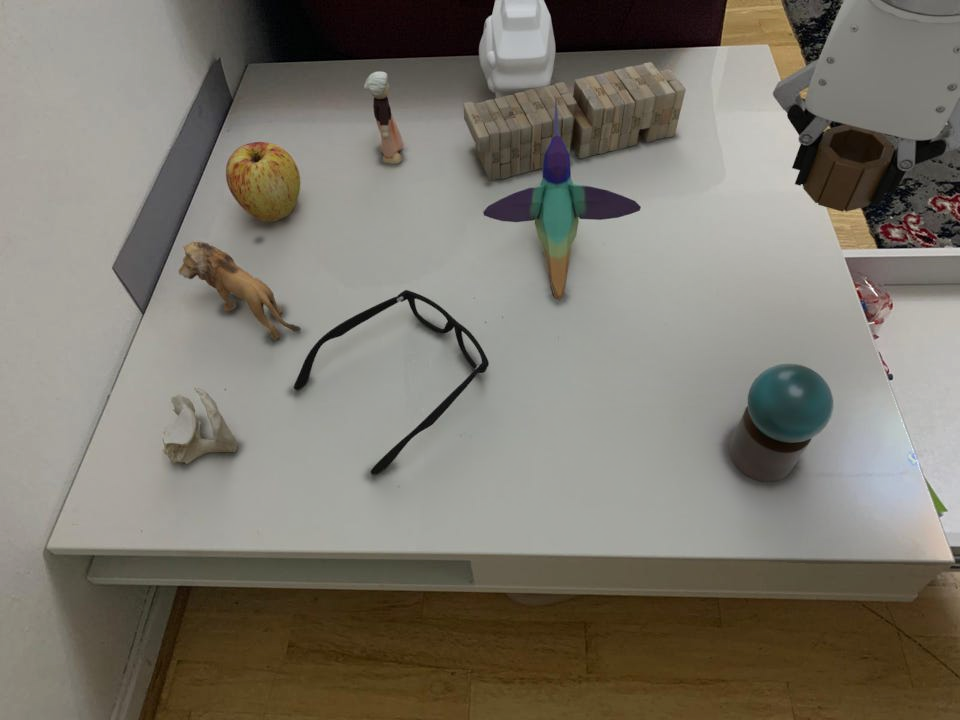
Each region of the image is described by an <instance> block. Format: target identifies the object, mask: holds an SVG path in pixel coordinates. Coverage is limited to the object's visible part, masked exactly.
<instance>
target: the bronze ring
mask: <svg viewBox="0 0 960 720" xmlns="http://www.w3.org/2000/svg"><path fill="white" fill-rule="evenodd" d="M823 132H824V133H823V135H822V138H821V140H820V142H819V145H818V149H817V152H816V154H815V157H814V159H813V162H812V165H811V167H810V170H809V172H808V175H807V177H806V180H805V183H804V185H802V189H803V190H804V191H805V193H806V194H807V195H808V196H809V198H810V199H811V200H812V201H813V203H815V204H817V205H818V206H821V207H824V208H828V209H832V210H835V211H839V212H842V213H843V212H846V213H847V212H851V211H854V210H858V209H862V208H866V207H868V206H870V205H871V203H870V202H871V200H872V198H873V196H874V194H875V192H876V190H877V188H878V186H879V184H880V182H881V180H882V178H883V176H884V173H885V171H886V169H887V167H888V166H889V164H890V162H891V159H892V156H893V153H894V150H896V147H895V145H894V144H893V143H892V142H891V141H890V140H889V139H888V138H887V137H886V136H885V134H884V133H880V132H875V131H871V130H867V129H863V128H859V127H855V126H851V125H847V124H842V125H837V126H834V127H830V128H826V129H825V130H824V131H823Z"/></svg>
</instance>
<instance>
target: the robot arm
mask: <svg viewBox="0 0 960 720" xmlns="http://www.w3.org/2000/svg"><path fill="white" fill-rule="evenodd" d="M806 89H807V91H806V94H805V98H803V97H802V95H801V93H800V92H802V91H804V90H806ZM772 96H773V98H774V99H775V100H776V102H777V103H778V104H779V106H780V107H781V108H782V110H783V111H785V112H786V117H787V119H788V121H789V122H790V124H791V125H792V127H793V128H794V130H795V131H796V133H797V134H798V142H799V144H800V145H799V147H798V150H797V152H796V155H795V159H794V161H793V164H792V166H791V168H792V169H794V170H796V171H798V174H797V177H796V180H795V182H794V185H796V186H799V187H800V186H803V185H804V183H805V180H806V177H807V175H808V172H809V170H810V167H811V165H812V162H813V159H814V157H815V154H816V152H817V149H818V145H819V142H820V140H821V138H822V135H823V133H824V131H826V130H827V129H828V127H829V126H830V125H831V124H832V123H833V122H835V123H839V124H842V125H846V124H847V125H851V126H855V127H859V128H863V129H867V130H871V131H875V132H880V133H882V134H883V135H888V136H893V137H895V138H896V137H897V147H896V148H895V150H894V153H893V156H892V159H891V162H890V164H889V166H888V167H887V169H886V171H885V173H884V176H883V178H882V180H881V182H880V184H879V186H878V188H877V190H876V192H875V194H874V196H873V198H872V200H871V202H870V205H871V206H873V207H876V208H880V206H881V203H882V202H883V199H884V198H885V195H890V196H894V195H895V194H896V191H897V189H898V188H899V186H900V185H901V182H902V180H903V179H904V176H905V174H906V172H908V171H911V170H913V169H914V167H915V166H916V165H918V164H921V163H924V162H927V161H929V160H932V159H934V158H935V159H936V158H938V157H941V156H942V155H943V154H945V153H946V152H949V151H950V152H952V151H955V150H958V149H960V0H843V2H842V4H841V6H840V9H839V10H838V13H837V15H836V17H835V19H834V21H833V24H832V26H831V29H830V31H829V33H828V36H827V38H826V40H825V43H824V45H823V47H822V50H821V53H820V56H819V58H817V59H816V60H814V61H812V62H810V63H809V64H807V65H805V66H803V67H801V68H800V69H798V70H797V71H795V72H793V73H791V74H789V75H788V76H786V77H785V78H782V79H780V80H779V81H778V82H777V84H776V86H775V87H774V89H773V92H772ZM948 122H949V124H950V126H951V128H948V129H946V130H945V131H943V129H944V128H945V127H946V124H947V123H948Z"/></svg>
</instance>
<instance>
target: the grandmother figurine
mask: <svg viewBox="0 0 960 720" xmlns="http://www.w3.org/2000/svg"><path fill="white" fill-rule="evenodd" d="M388 77H389V76H388V74H387V73H386V72H385V71H374V72H372V73H370V74H369V76H368V77H367V78H366V80H365V82H364V85H363V88H364V90H366V91H369V93H370V94H371V95H372V96H373V104H372V105H373V106H372V108H373V115H374V119H375V122H376V126H377V129H378V131H379V133H380V138H381V147H380V153H382V154H383V158H382V162H383V163H384V164H392V165H397V164H400V163H402V161H403V156H402V155H401V153H399V151H400V150H402V149H403V147H404V142H403V138H402V134H401V132H400V129H399V127H398V125H397V122H396V119H395V117H394V115H393V114H392V111H391V109H392V108H391V106H390V103H389V97H388V96H389V95H390V92H391V91H390V90H391V88H390V84H389V83H388Z"/></svg>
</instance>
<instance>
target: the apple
mask: <svg viewBox="0 0 960 720" xmlns="http://www.w3.org/2000/svg"><path fill="white" fill-rule="evenodd" d="M225 180H226V184H227V187H228V190H229V193H231V195H232V196H233V198H234V200H235V201H236V202H237V204H238V205H239V206H240V207H241V208H242V210H244V211H245V212H246V213H247V214H249V215H250V216H251V217H253V218H254V219H256V220H258V221H260V222H275V221H279V220H282V219H283V218H285V217H286V216H288V215H290V213H291V212H292V211H294V209H295V206H296V205H297V201H298V199H299V195H300V192H301V191H300V190H301V174H300V170H299V168H298V164H297V162H296V161H295V160H294V157H293V156H292V155H291V154H290V153H289V151H287V150H286V149H285V148H283V147H282V146H280V145H278V144H276V143H273V142H266V141H255V142H249V143H246V144H243V145H241V146H239V147H238V148H237V149H236V150H235V151H233V153H232V154H231V155H230V156H229V158H228V160H227V163H226V165H225Z"/></svg>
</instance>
